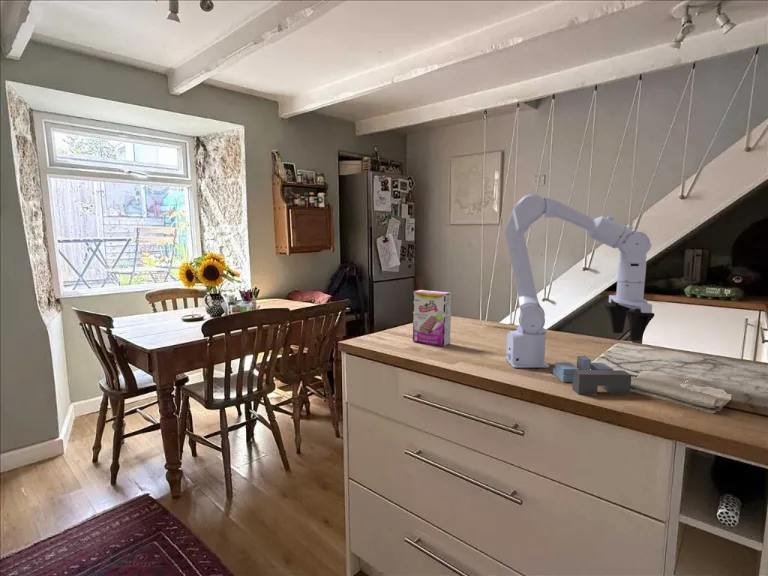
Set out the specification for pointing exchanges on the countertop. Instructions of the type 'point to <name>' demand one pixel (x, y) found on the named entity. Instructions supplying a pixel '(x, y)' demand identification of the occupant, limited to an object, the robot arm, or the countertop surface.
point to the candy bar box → (432, 317)
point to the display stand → (576, 368)
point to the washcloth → (674, 391)
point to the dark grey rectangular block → (601, 381)
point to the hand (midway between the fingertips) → (626, 336)
